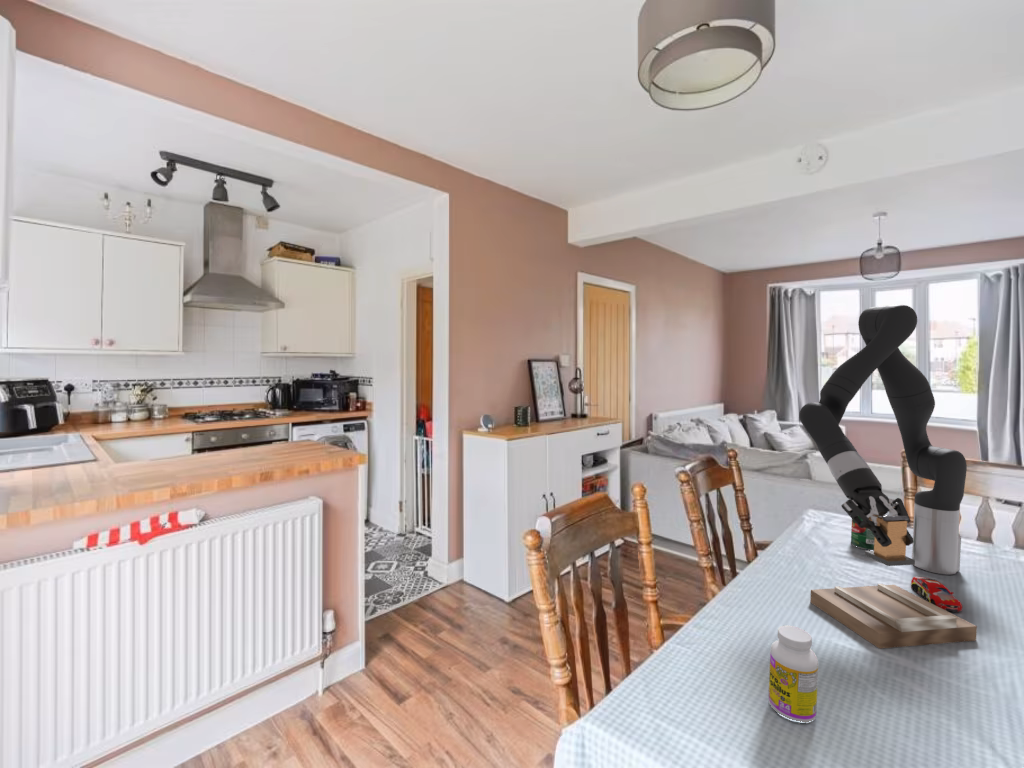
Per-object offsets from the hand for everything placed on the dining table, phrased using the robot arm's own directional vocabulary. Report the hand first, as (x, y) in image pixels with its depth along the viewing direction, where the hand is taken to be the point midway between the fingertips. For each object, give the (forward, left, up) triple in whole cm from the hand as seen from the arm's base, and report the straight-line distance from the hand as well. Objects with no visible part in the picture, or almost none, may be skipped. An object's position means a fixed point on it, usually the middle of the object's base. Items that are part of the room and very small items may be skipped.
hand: (898, 544), depth 101 cm
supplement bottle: (+40, +20, -18) cm, 48 cm away
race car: (-20, -9, -18) cm, 28 cm away
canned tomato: (-32, -40, -18) cm, 54 cm away
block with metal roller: (0, -2, -4) cm, 5 cm away
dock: (0, -2, -18) cm, 18 cm away
